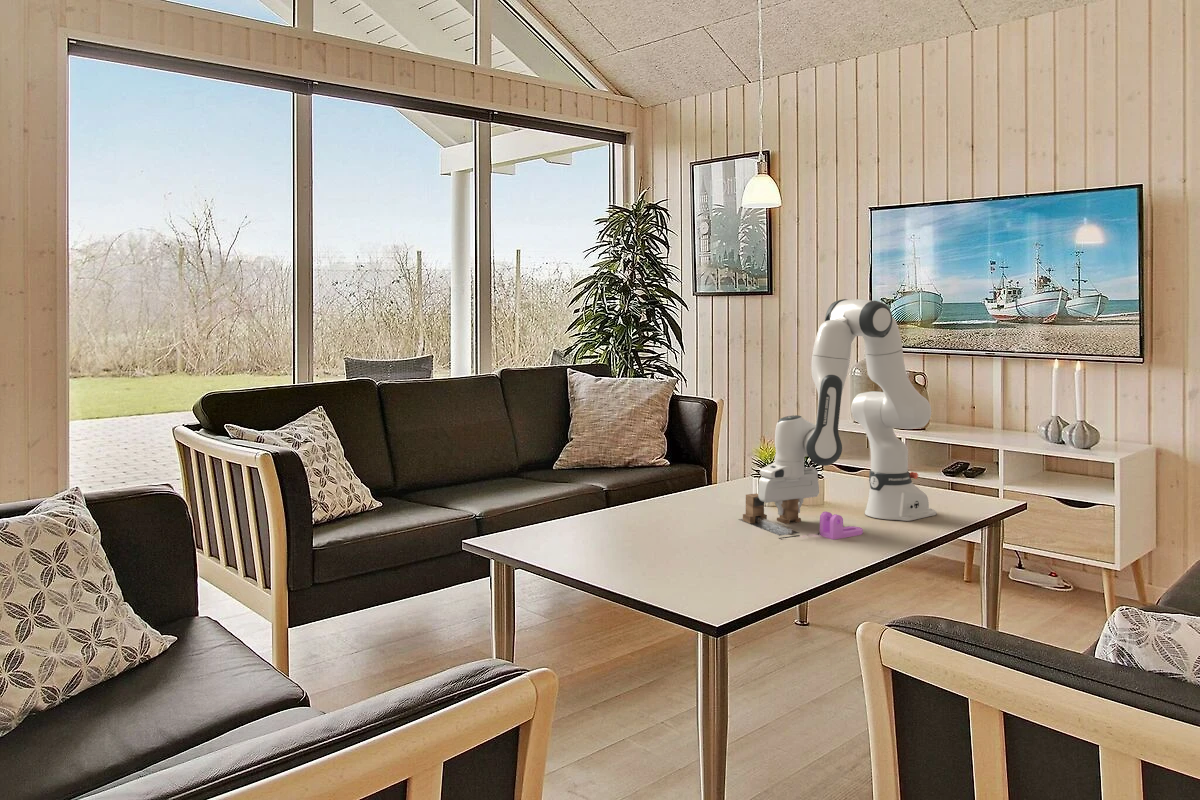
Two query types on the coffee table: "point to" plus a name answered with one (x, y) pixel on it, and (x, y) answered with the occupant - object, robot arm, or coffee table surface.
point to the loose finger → (789, 511)
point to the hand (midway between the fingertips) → (788, 513)
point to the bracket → (836, 527)
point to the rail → (772, 527)
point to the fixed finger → (753, 508)
